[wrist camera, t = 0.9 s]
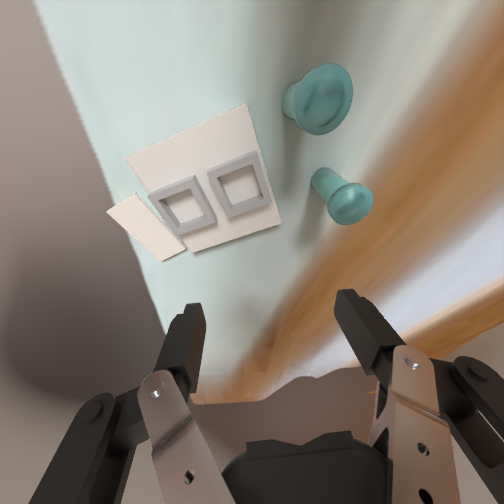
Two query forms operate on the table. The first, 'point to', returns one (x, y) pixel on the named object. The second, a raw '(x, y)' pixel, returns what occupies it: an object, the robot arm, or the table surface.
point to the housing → (209, 181)
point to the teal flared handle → (319, 99)
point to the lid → (146, 227)
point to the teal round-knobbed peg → (342, 196)
